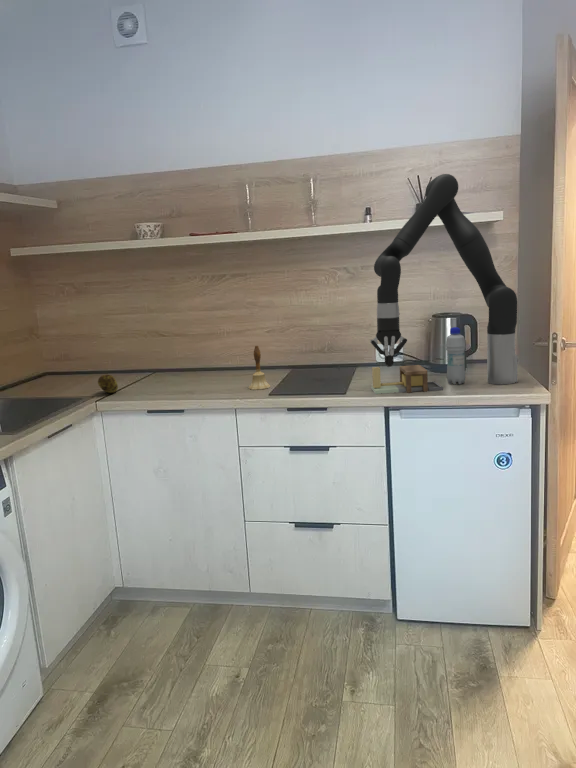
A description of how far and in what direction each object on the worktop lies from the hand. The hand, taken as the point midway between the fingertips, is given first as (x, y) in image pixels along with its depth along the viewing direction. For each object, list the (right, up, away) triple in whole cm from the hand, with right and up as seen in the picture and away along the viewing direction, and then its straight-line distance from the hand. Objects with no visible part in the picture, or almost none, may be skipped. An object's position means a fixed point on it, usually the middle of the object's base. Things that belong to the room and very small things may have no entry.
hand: (389, 366), depth 218 cm
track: (+4, -8, +1) cm, 9 cm away
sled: (+3, -7, +1) cm, 8 cm away
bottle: (+25, -6, +6) cm, 26 cm away
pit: (+15, -7, +2) cm, 17 cm away
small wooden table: (+9, -8, +2) cm, 12 cm away
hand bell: (-46, -8, +21) cm, 51 cm away
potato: (-105, -10, +29) cm, 109 cm away
